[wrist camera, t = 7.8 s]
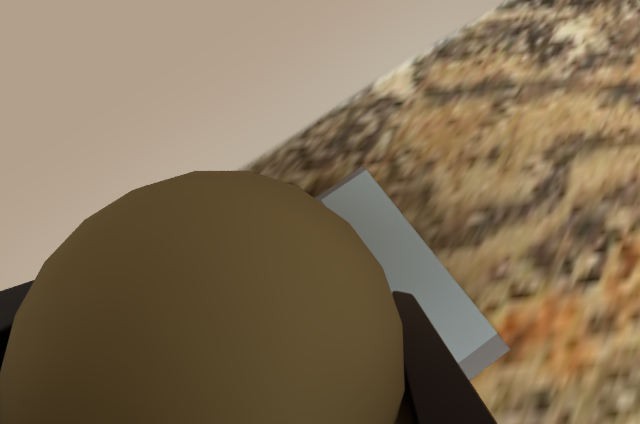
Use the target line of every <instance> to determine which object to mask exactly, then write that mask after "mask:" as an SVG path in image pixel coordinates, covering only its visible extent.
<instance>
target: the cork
mask: <svg viewBox="0 0 640 424" xmlns="http://www.w3.org/2000/svg"><path fill="white" fill-rule="evenodd" d="M404 390H405V385H404V356H403V326H402V322H401V319H400V316H399V313H398V310H397V307H396V304H395V302H394V299H393V296H392V293H391V290H390V287H389V284H388V281H387V279H386V276H385V273H384V270H383V267H382V266H381V265H380V263H379V262H378V261H377V259H376V258H375V257H374V255H373V254H372V253H371V251H370V250H369V249H368V247H367V246H366V245H365V243H364V242H363V241H362V239H361V238H360V237H359V235H358V234H357V233H356V231H355V230H354V229H353V227H352V226H351V225H350V223H349V222H347V221H346V220H345V219H343V218H342V217H340V216H339V215H338V214H336V213H335V212H333V211H332V210H330V209H329V208H328V207H326V206H325V205H323V204H322V203H320V202H319V201H318V200H316V199H315V198H313V197H312V196H310V195H309V194H308V193H306V192H305V191H303V190H302V189H301V188H299V187H298V186H295V185H291V184H288V183H285V182H282V181H278V180H275V179H272V178H269V177H265V176H262V175H259V174H256V173H252V172H249V171H194V172H190V173H187V174H184V175H180V176H177V177H174V178H170V179H167V180H164V181H160V182H157V183H154V184H151V185H147V186H144V187H141V188H138V189H135V190H132V191H130V192H129V193H127V194H125V195H124V196H122V197H121V198H119V199H118V200H116V201H115V202H113V203H111V204H109V205H108V206H106V207H105V208H103V209H101V210H100V211H98V212H97V213H95V214H93V215H92V216H90V217H89V218H87V219H85V220H84V221H83V222H82V223H81V225H80V226H79V227H78V228H77V229H76V230H75V231H74V232H73V233H72V234H71V235H70V236H69V237H68V238H67V239H66V240H65V241H64V242H63V244H61V246H60V247H59V248H58V249H57V250H56V251H55V252H54V253H53V254H52V255H51V256H50V257H49V258H48V259H47V260H46V261H45V263H44V264H43V266H42V268H41V270H40V272H39V273H38V275H37V277H36V279H35V280H34V282H33V284H32V286H31V288H30V289H29V291H28V293H27V295H26V296H25V298H24V300H23V302H22V304H21V305H20V307H19V309H18V311H17V313H16V314H15V317H14V321H13V325H12V329H11V333H10V337H9V340H8V344H7V348H6V352H5V356H4V359H3V363H2V367H1V371H0V424H395V423H396V420H397V416H398V412H399V409H400V405H401V401H402V398H403V394H404Z"/></svg>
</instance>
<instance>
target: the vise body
mask: <svg viewBox="0 0 640 424" xmlns="http://www.w3.org/2000/svg"><path fill="white" fill-rule="evenodd" d="M315 199H316V200H318V201H319V202H320V203H322V204H323V205H325V206H326V207H328V208H329V209H330V210H332V211H333V212H335V213H336V214H338V215H339V216H340V217H342V218H343V219H345V220H346V221H347V222H349V223H350V225H351V226H352V227H353V229H354V230H355V231H356V233H357V234H358V235H359V237H360V238H361V239H362V241H363V242H364V243H365V245H366V246H367V247H368V249H369V250H370V251H371V253H372V254H373V255H374V257H375V258H376V259H377V261H378V262H379V263H380V265H381V266H382V267H383V270H384V273H385V276H386V279H387V281H388V284H389V287H390V290H391V293H392V292H393V291H401V292H406V293H411V294H412V295H414V297H415V298H416V300H417V301H418V303H419V304H420V306H421V308H422V309H423V311H424V312H425V314H426V315H427V317H428V318H429V320H430V321H431V323H432V324H433V326H434V327H435V329H436V330H437V332H438V334H439V335H440V337H441V338H442V340H443V341H444V343H445V344H446V346H447V347H448V349H449V350H450V352H451V353H452V355H453V356H454V358H455V360H456V361H457V363H458V364H459V366H460V367H461V369H462V370H463V372H464V373H465V375H466V376H467V378H468V379H469V381H470V380H471V379H472V378H474V377H475V376H476V375H478V374H479V373H480V372H481V371H483V370H484V369H485V368H487V367H488V366H489V365H491V364H492V363H493V362H494V361H496V360H497V359H498V358H500V357H501V356H502V355H504V354H505V353H506V352H507V351H509V350H510V349H509V347H508V346H507V345H506V344H505V342H504V341H503V340H502V339H501V337H500V336H499V335H498V334H497V332H496V331H495V329H494V328H493V327H492V326H491V324H490V323H489V322H488V321H487V319H486V318H485V317H484V316H483V314H482V313H481V312H480V311H479V309H478V308H477V307H476V306H475V305H474V303H473V302H472V301H471V300H470V298H469V297H468V296H467V295H466V293H465V292H464V291H463V290H462V288H461V287H460V286H459V285H458V283H457V282H456V281H455V280H454V278H453V277H452V276H451V275H450V273H449V272H448V271H447V270H446V268H445V267H444V266H443V265H442V263H441V262H440V261H439V260H438V258H437V257H436V256H435V255H434V253H433V252H432V251H431V250H430V248H429V247H428V246H427V245H426V243H425V242H424V241H423V240H422V238H421V237H420V236H419V235H418V233H417V232H416V231H415V230H414V228H413V227H412V226H411V225H410V223H409V222H408V221H407V220H406V218H405V217H404V216H403V215H402V213H401V212H400V211H399V210H398V208H397V207H396V206H395V205H394V203H393V202H392V201H391V200H390V198H389V197H388V196H387V195H386V193H385V192H384V191H383V190H382V188H381V187H380V186H379V185H378V183H377V182H376V181H375V180H374V178H373V177H372V176H371V175H370V173H369V172H368V171H367V170H366V169H365V168H364V166H362V167H360V168H359V169H357V170H356V171H354V172H353V173H351V174H350V175H348V176H347V177H345V178H344V179H342V180H341V181H339V182H338V183H336V184H335V185H333V186H332V187H330V188H329V189H327V190H326V191H324V192H323V193H321V194H320V195H318V196H317V197H315Z"/></svg>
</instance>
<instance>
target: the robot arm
mask: <svg viewBox="0 0 640 424" xmlns="http://www.w3.org/2000/svg"><path fill="white" fill-rule="evenodd" d="M33 282H34V280H33V281H30V282H27V283H24V284H21V285H18V286H15V287H12V288H9V289H6V290H3V291H0V371H1V367H2V363H3V359H4V356H5V352H6V348H7V344H8V340H9V337H10V333H11V329H12V325H13V321H14V317H15V314H16V313H17V311H18V309H19V307H20V305H21V304H22V302H23V300H24V298H25V296H26V295H27V293H28V291H29V289H30V288H31V286H32V284H33ZM392 296H393V299H394V302H395V304H396V307H397V310H398V313H399V316H400V319H401V322H402V326H403V356H404V385H405V390H404V394H403V398H402V401H401V405H400V409H399V412H398V416H397V420H396V423H395V424H497V422H496V421H495V419H494V418H493V416H492V415H491V413H490V412H489V410H488V408H487V407H486V405H485V404H484V402H483V401H482V399H481V398H480V396H479V395H478V393H477V392H476V390H475V389H474V387H473V386H472V384H471V382H470V381H469V379H468V378H467V376H466V375H465V373H464V372H463V370H462V369H461V367H460V366H459V364H458V363H457V361H456V360H455V358H454V356H453V355H452V353H451V352H450V350H449V349H448V347H447V346H446V344H445V343H444V341H443V340H442V338H441V337H440V335H439V334H438V332H437V330H436V329H435V327H434V326H433V324H432V323H431V321H430V320H429V318H428V317H427V315H426V314H425V312H424V311H423V309H422V308H421V306H420V304H419V303H418V301H417V300H416V298H415V297H414V295H412V294H411V293H406V292H401V291H393V292H392Z"/></svg>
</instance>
